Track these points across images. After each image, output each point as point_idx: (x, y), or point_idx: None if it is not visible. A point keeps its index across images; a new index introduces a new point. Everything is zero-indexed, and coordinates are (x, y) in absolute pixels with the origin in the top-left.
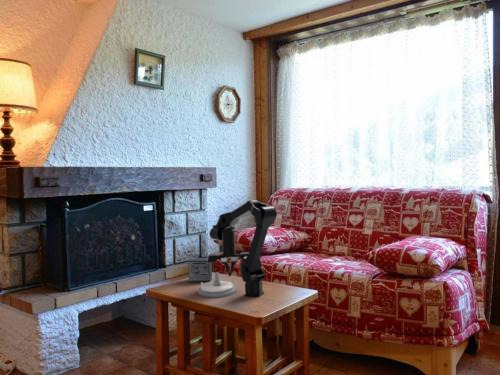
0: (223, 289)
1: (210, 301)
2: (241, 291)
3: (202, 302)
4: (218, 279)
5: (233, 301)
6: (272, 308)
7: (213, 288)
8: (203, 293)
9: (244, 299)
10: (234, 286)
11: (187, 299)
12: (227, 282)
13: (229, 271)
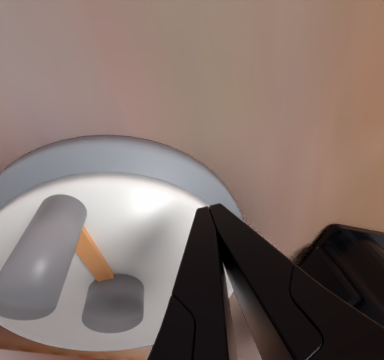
0: None
1: None
2: (276, 219)
3: (113, 353)
4: (79, 235)
5: (238, 327)
6: None
7: (122, 336)
8: None
9: None
10: (238, 212)
11: (17, 346)
12: (183, 223)
13: (220, 257)
